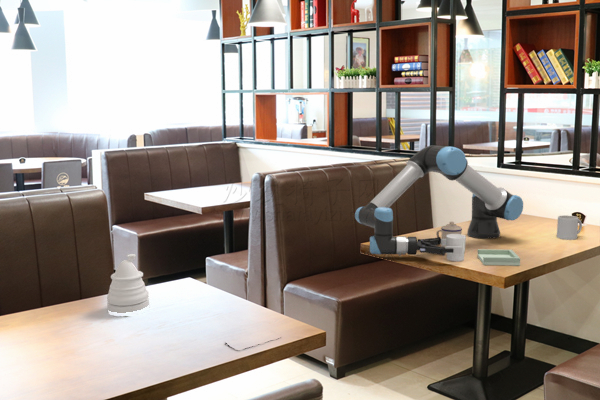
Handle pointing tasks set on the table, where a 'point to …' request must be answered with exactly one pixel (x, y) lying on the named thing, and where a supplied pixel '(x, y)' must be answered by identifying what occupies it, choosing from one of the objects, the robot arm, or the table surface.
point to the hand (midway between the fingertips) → (459, 246)
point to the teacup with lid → (449, 230)
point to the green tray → (498, 257)
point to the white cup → (456, 241)
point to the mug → (568, 227)
